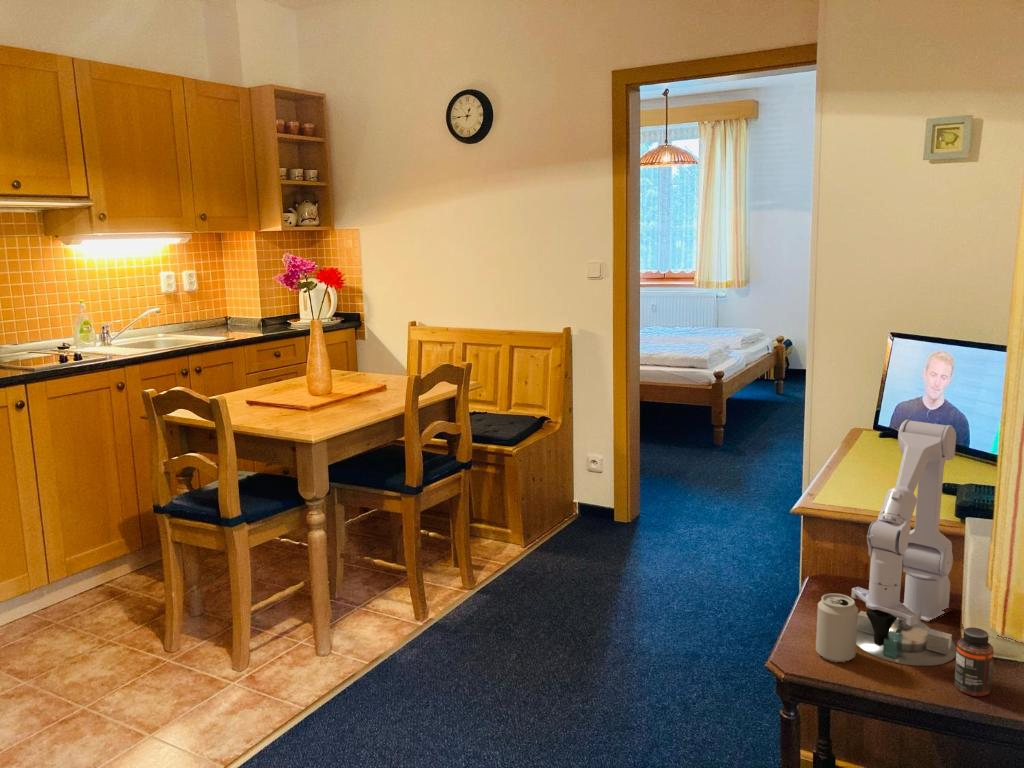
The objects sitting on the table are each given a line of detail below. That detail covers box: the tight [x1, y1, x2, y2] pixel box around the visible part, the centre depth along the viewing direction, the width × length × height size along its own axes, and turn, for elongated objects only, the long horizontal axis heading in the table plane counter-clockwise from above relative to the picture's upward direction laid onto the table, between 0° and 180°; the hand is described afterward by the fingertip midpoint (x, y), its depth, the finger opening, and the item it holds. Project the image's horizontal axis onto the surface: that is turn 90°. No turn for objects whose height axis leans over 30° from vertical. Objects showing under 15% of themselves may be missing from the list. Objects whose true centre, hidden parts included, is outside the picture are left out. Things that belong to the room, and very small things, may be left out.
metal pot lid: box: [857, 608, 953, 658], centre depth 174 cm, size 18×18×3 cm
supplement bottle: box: [954, 627, 995, 697], centre depth 155 cm, size 6×6×11 cm
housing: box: [856, 618, 957, 667], centre depth 174 cm, size 20×20×6 cm
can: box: [815, 593, 859, 663], centre depth 168 cm, size 8×8×12 cm
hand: (880, 643), depth 170 cm, fingers closed, pressing on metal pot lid
